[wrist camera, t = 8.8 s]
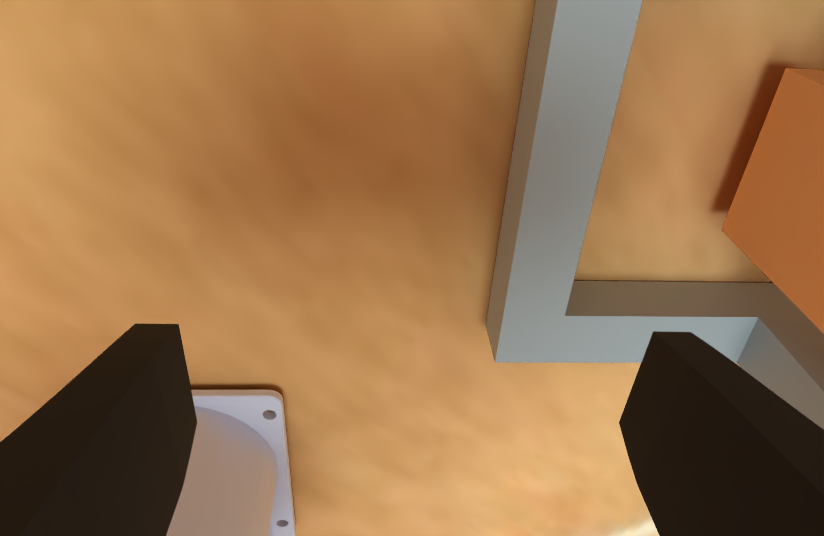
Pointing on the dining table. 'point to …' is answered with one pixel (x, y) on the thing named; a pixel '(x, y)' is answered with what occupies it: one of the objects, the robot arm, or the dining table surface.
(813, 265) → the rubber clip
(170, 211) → the dining table surface
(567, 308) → the grey rod frame
